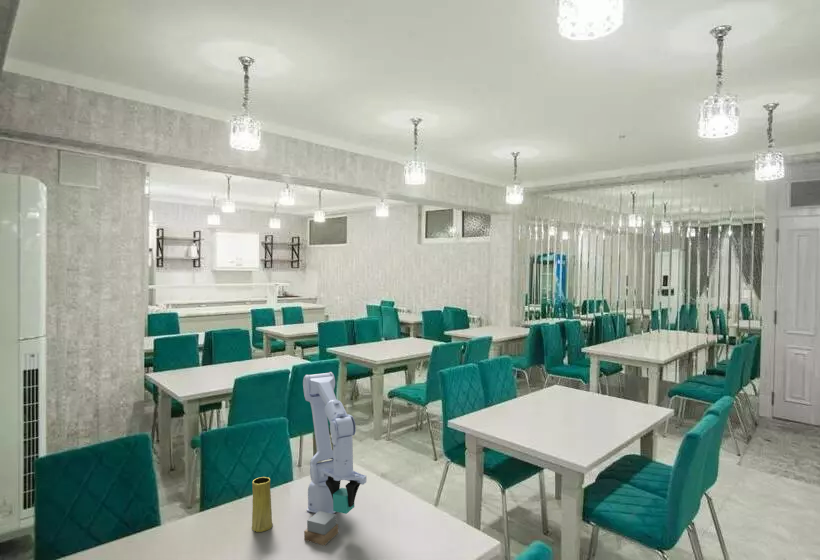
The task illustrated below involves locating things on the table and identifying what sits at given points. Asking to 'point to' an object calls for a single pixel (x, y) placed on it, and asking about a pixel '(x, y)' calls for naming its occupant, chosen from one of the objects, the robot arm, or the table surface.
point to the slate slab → (321, 522)
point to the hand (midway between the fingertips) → (343, 503)
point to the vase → (261, 505)
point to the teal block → (341, 501)
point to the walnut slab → (321, 536)
